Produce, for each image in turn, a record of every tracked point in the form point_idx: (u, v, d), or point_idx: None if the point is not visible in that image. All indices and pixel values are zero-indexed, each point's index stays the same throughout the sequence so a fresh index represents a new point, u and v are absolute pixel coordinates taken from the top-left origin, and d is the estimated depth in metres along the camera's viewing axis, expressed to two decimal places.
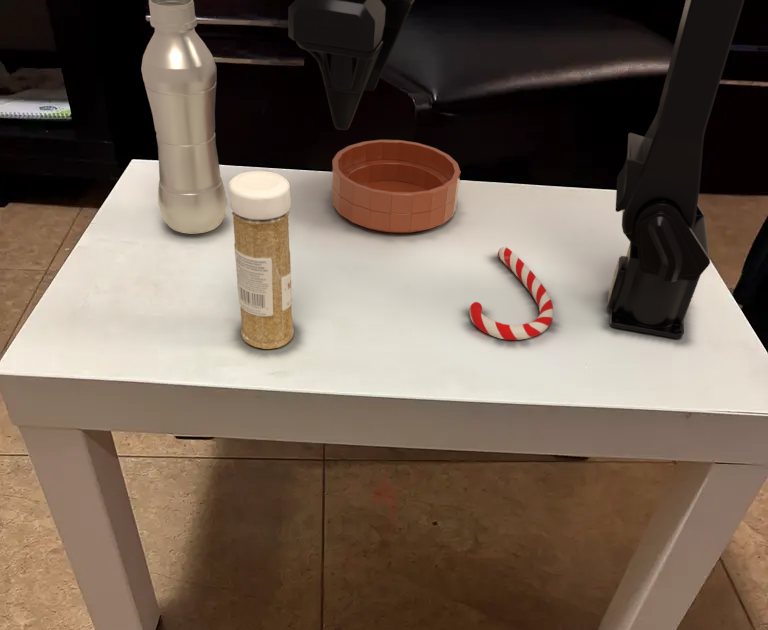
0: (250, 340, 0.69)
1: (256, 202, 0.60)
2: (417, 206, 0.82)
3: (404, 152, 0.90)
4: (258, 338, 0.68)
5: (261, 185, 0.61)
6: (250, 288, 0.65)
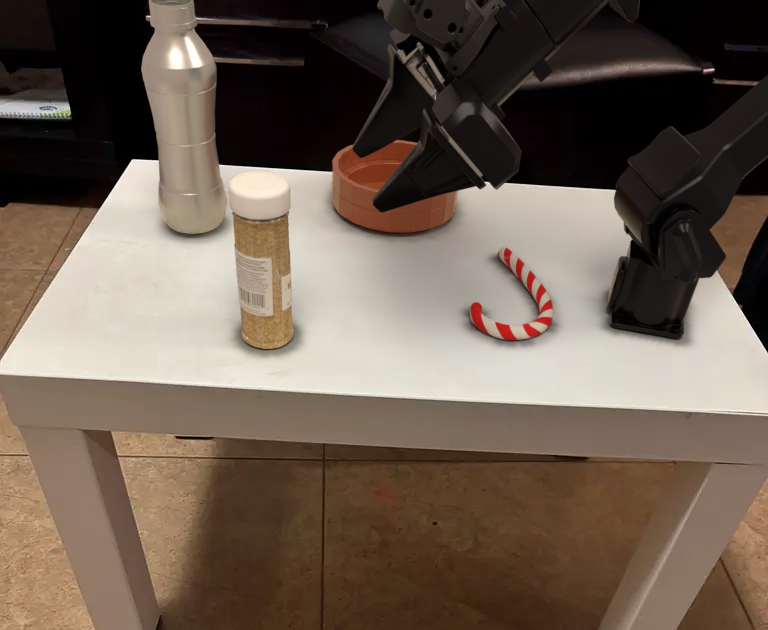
0: (250, 340, 0.69)
1: (256, 202, 0.60)
2: (417, 206, 0.82)
3: (404, 152, 0.90)
4: (258, 338, 0.68)
5: (261, 185, 0.61)
6: (250, 288, 0.65)
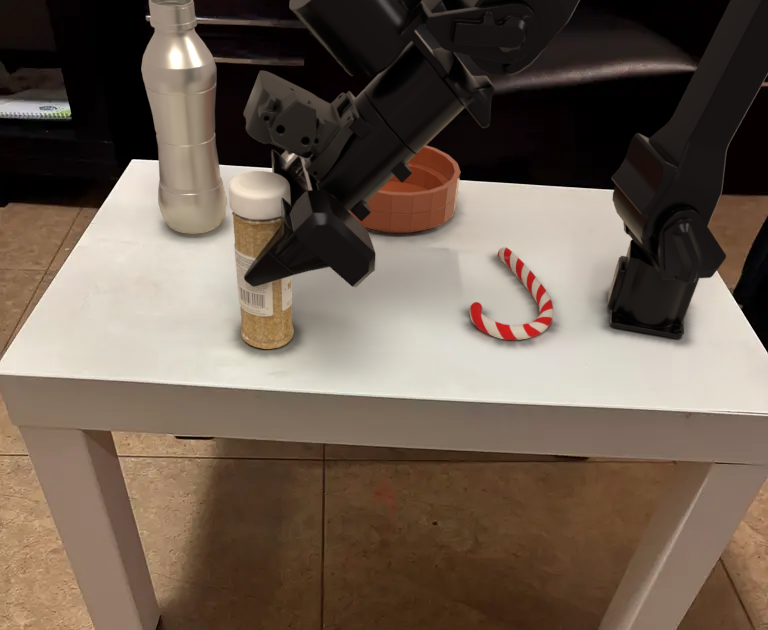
0: (250, 340, 0.69)
1: (256, 202, 0.60)
2: (417, 206, 0.82)
3: None
4: (258, 338, 0.68)
5: (261, 185, 0.61)
6: (250, 288, 0.65)
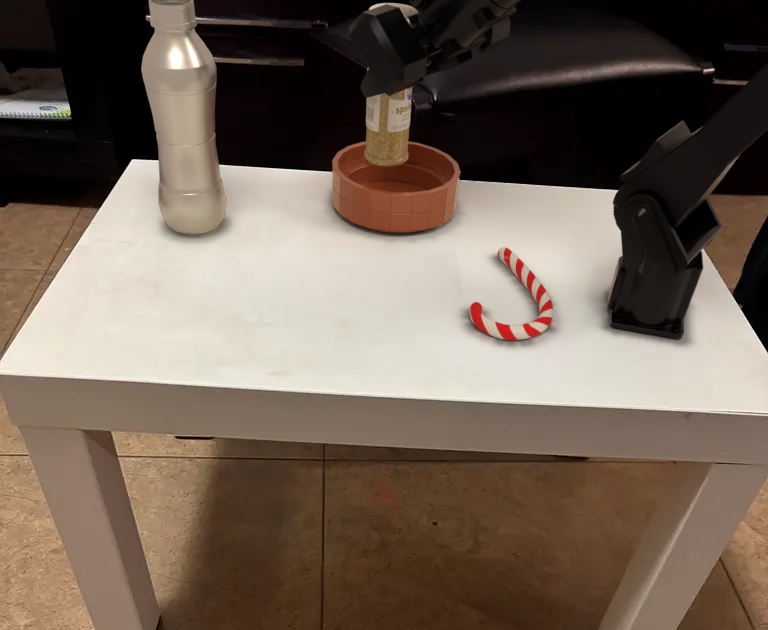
0: (365, 152, 0.83)
1: None
2: (417, 206, 0.82)
3: None
4: (368, 151, 0.82)
5: None
6: (367, 101, 0.79)
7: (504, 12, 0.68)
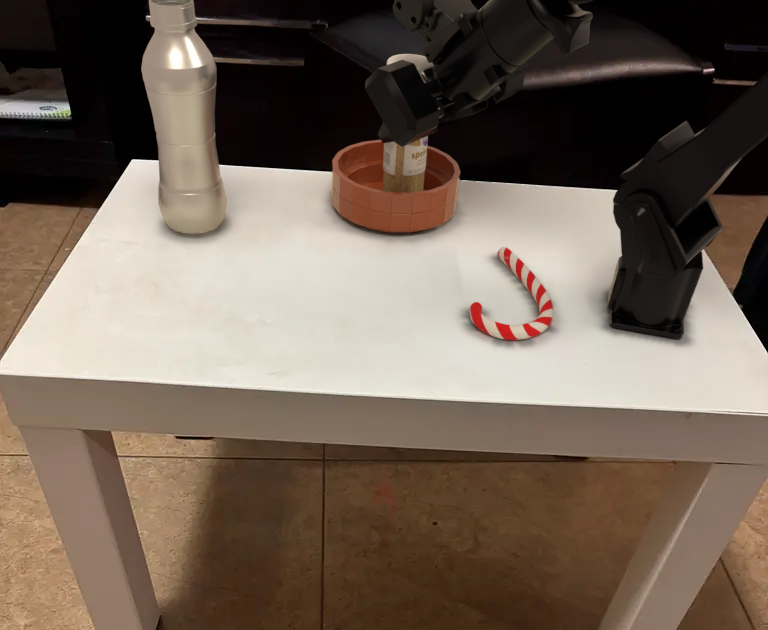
0: None
1: None
2: (417, 206, 0.82)
3: None
4: None
5: None
6: (384, 146, 0.82)
7: (515, 69, 0.70)
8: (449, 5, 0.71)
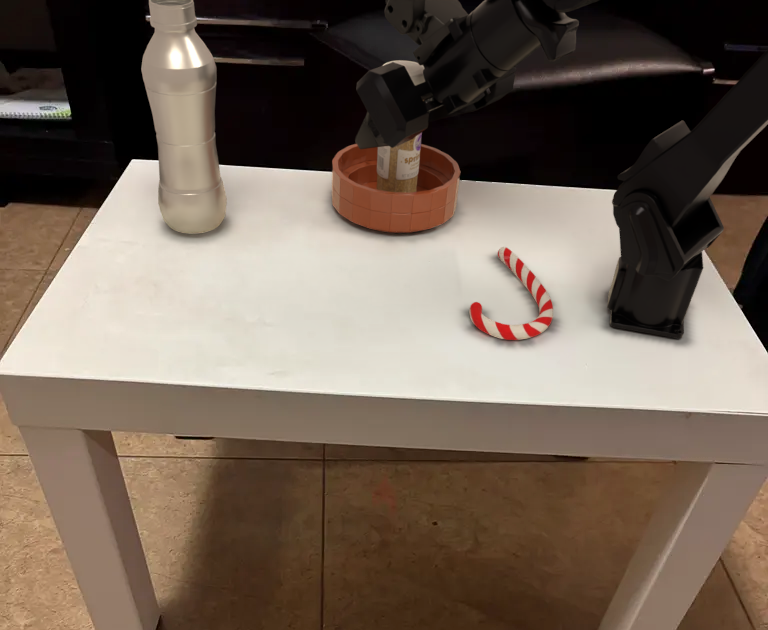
0: None
1: None
2: (417, 206, 0.82)
3: None
4: None
5: None
6: (378, 150, 0.83)
7: (503, 73, 0.72)
8: (440, 9, 0.72)
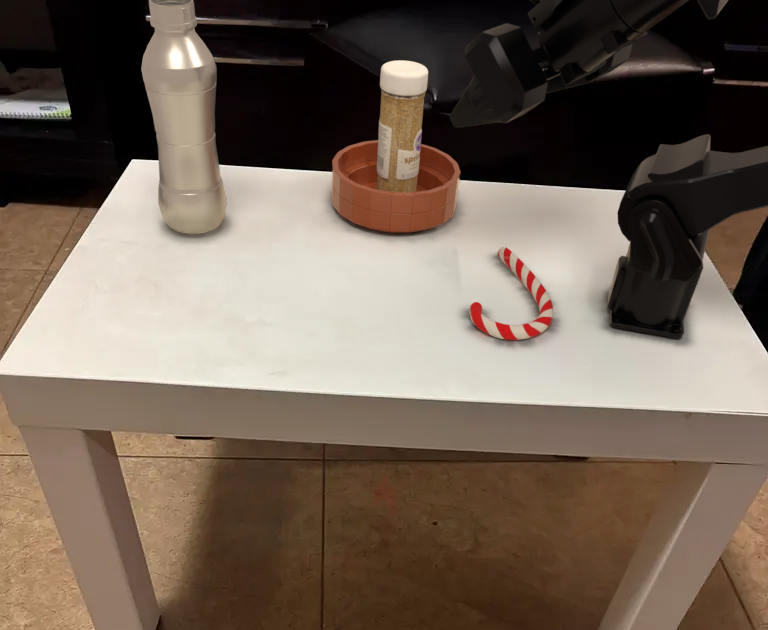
0: None
1: (386, 76, 0.77)
2: (417, 206, 0.82)
3: None
4: None
5: (401, 68, 0.78)
6: (378, 150, 0.83)
7: (636, 36, 0.62)
8: None
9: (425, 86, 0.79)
